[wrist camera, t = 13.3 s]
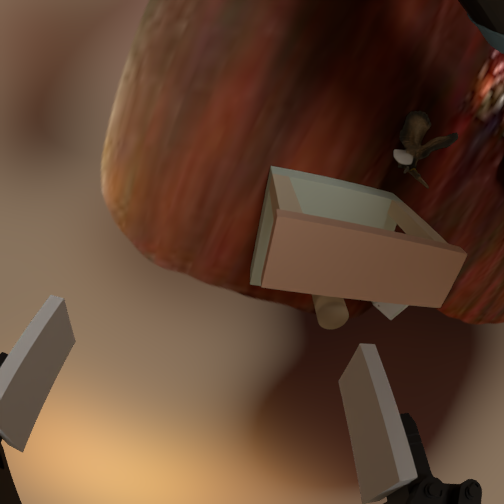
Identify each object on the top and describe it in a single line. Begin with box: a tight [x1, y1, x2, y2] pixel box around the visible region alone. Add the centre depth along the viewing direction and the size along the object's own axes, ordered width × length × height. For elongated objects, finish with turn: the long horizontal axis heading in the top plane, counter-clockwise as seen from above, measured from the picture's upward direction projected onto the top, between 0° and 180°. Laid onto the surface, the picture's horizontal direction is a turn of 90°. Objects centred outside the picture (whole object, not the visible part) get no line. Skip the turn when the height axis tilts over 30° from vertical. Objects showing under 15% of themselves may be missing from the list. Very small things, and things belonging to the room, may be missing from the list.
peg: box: [312, 294, 349, 329], centre depth 39 cm, size 4×4×14 cm
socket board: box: [250, 166, 404, 286], centre depth 42 cm, size 16×18×4 cm
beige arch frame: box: [261, 174, 467, 308], centre depth 31 cm, size 6×19×14 cm, turn 80°
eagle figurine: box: [393, 111, 458, 188], centre depth 34 cm, size 8×7×9 cm
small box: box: [372, 301, 409, 320], centre depth 46 cm, size 6×6×5 cm
